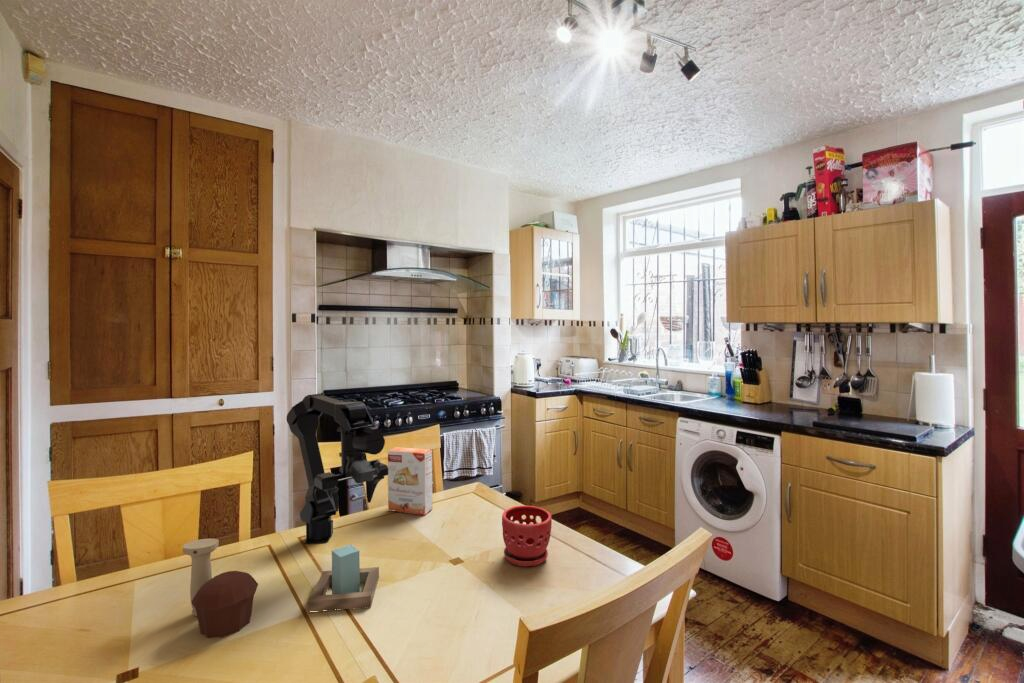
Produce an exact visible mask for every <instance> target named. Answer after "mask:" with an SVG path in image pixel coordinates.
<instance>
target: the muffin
mask: <svg viewBox="0 0 1024 683" xmlns="http://www.w3.org/2000/svg"><path fill="white" fill-rule="evenodd" d="M258 586H259V582H257V580H256V579H255V578H254V577H253V576H252V575H251V574H250V573H249V572H246V571H241V570H229V571H226V572H222V573H219V574H217V575H215V576H212V579H210V580H209V581H207V582H206V583H205V584H203V585H202V586H201V588H200V589H199V590H198V592H197V593H196V595H195V597H194V598H193V600H192V602H191V601H190V604H191V603H192V604H193V606H194V608H195V609H196V613H197V617H196V618H197V622H198V627H199V631H200V635H203V636H205V637H206V639H213V638H225V637H227V636H229V635H232V634H235V633H238V632H240V631H241V630H242V629H244V627H246V626H247V625H249V624H250V623H251V617H252V611H253V604H254V597H255V594H256V592H257V590H258Z"/></svg>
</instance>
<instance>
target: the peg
mask: <svg viewBox="0 0 1024 683" xmlns="http://www.w3.org/2000/svg"><path fill="white" fill-rule="evenodd" d="M360 565H361V564H360V550H359V549H358V548H356V546H353V545H352V544H347V545H345V546H341V547H339V548H335V549H332V550H331V571H332V585H331V593H332V594H344V593H356V592H361V590H360V589H361V585H360V584H361V583H360V568H361V567H360ZM332 594H331V595H332Z"/></svg>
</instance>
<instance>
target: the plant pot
mask: <svg viewBox="0 0 1024 683" xmlns="http://www.w3.org/2000/svg"><path fill="white" fill-rule="evenodd" d="M523 516H525V518H522V517H523ZM531 517H532V518H531ZM537 517H539V518H540V520H541V521H540V522H539V523H538V522H537ZM552 520H553V519H552V514H551V513H550V512H549V511H548V510H547V509H544V508H542V507H539V506H535V505H534V506H533V505H517V506H512V507H510V508H509V507H508V509H506V510H504V511H503V512H502V516H501V526H502V538H503V542H504V545H505V547H504V550H503V555H504V557H505V558H506V560H507V561H508V562H509V563H511V564H513V565H515V566H520V567H532V566H538V565H540V564H542V563H543V562H545V561H546V559H547V558H548V554H549V553H548V549H547V548H548V547H549V546H548V545H549V543H550V538H551V534H552V523H553V522H552ZM516 521H517V522H516ZM531 523H532V524H531Z"/></svg>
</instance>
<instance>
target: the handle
mask: <svg viewBox="0 0 1024 683" xmlns="http://www.w3.org/2000/svg"><path fill="white" fill-rule="evenodd" d="M219 542H220V541H219V539H218V538H202V539H201V538H200V539H196V540H190V541H188V542H187V543H185V544H183V545H182V553H183V554H184V555H187V556H190V558H191V570H190V571H191V572H190V585H189V589H190V593H189V595H190V597H189V598H190V604H191V609H192V610H191V613H192V616H193V617H196V618H197V613H196V609H195V608H194V606H193V604H192V603H191V602H192V600H193V598H194V597H195V595H196V593H197V592H198V590H199V589H200V588H201V586H202V585H203V584H205V583H206V582H207V581H209V580H210V579H212V578H213V575H212V563H211V562H212V560H211V554H212V553H213V552H214V551H215V550H217V548H218V547H219V545H220V544H219Z"/></svg>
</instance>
